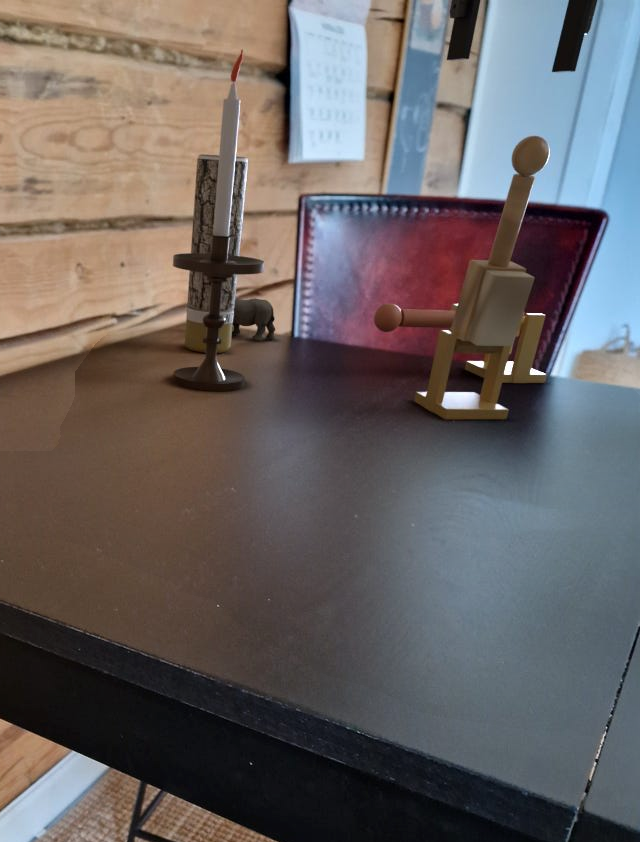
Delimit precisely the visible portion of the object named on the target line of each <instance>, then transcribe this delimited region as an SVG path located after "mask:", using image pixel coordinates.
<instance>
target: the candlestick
mask: <svg viewBox="0 0 640 842" xmlns="http://www.w3.org/2000/svg"><path fill="white" fill-rule="evenodd" d="M243 60H244V49H241V50H240V54H239V56H238V58H237V59H236V61H235V62H234V65H233V67H232V70H231V72H230V81H231V84H230V88H229V92H228V94H227V97H226V98H223V100H222V101H223V103H222V105H223V106H222V115H221V128H220V140H219V141H220V142H219V151H218V155H219V164H218V177H217V190H216V202H215V215H214V227H213V233H204V234H206V235H209V236H212V242H211V254H206V253H191V252H187V253H186V252H185V253H176V254H173V256H172V267H174V268H176V269H179V270H185V271H189V272H190V271H196V272H201V274H202V275H204V276H205V277H206V280H208V281H210V282H211V293H210V306H209V314H207V315H205V316H204V317H203V319H202V321H203V324H204V326H205V327H207V333H206V338H203V339H202V342H203V343H206V353H204V354H205V357H204V359H203V360H202V362H201V363H200V364H199V366H188V367H180V368H177V369H175V370H174V371H173V374H172V375H173V376H172V381H173V383H175V384H176V385H178V386H180V387H184V388H188V389H192V390H198V391H206V392H207V391H208V392H227V391H228V392H229V391H230V392H231V391H236V390H240V389H242V388H244V386H245V379H246V377H245V375H244V374H243V373H240V372H237V371H235V370H231V369H226V368H221V367H220V364H219V362H218V360H217V353H216V352H217V344H221V343H222V340H221V339H218V338H219V328H222V327H223V325H224V323H225V318H224V317H223V316H222V315H220V305H221V293H222V283H224V282H227V281H228V278H231V277H234V276H235V274H236V275H237V276H239V275H245V276H246V275H259V274H262V273H264V270H265V261H264V260H262V259H259V258H254V257H249V256H242V255H239V256H234V255H228V249H229V238H230V237H236V236H237V235H232V234H229V227H230V216H231V205H232V193H233V182H234V170H235V159H236V157H237V148H238V147H237V146H238V135H239V124H240V112H241V102H242V101H241V99H238V94H237V85H236V83H235V82H237V80H238V76H239V73H240V71H241V65H242V63H243Z"/></svg>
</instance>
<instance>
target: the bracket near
mask: <svg viewBox="0 0 640 842" xmlns="http://www.w3.org/2000/svg"><path fill="white" fill-rule="evenodd" d="M456 339H457V334H456V333H453V332H451V331H450V330H449V329H440V330H439V332H438V338H437V342H436V347H435V351H434V356H433V362H432V367H431V371H430V375H429V380H428V384H427V390H426V391H415V394H414V395H415V396H414V398H413V399H414V400H413V402H414V403H416V404H418V405H419V406H421V407H423V408H424V409H425V410H427V411H428V412H431V413H433V414H435V415H437V416H439V417H440V418H442V419H443V420H507V418H508V414H509V408H507V407H505V406H503V405H501V404H499V403H498V400H499V396H500V393H501V389H502V384H503V383H502V381H503V377H504V373H505V369H506V365H507V362H509V356H510V354H509V353H510V349H511V346H498V349H497V351H496V352H495V353H493V354H490V357H489V361H488V365H487V369H486V373H485V378H483V382H482V386H481V391H480V394H479V393H477V392H475V391H446V388H447V383H448V380H449V375H450V370H451V366H452V361H453V356H454V353H453V352H454V348H455V343H456Z"/></svg>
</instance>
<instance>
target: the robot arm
mask: <svg viewBox="0 0 640 842" xmlns="http://www.w3.org/2000/svg"><path fill="white" fill-rule="evenodd" d="M597 4H598V0H568V2H567V6H566V10H565V14H564V18H563V22H562V27H561V31H560V34H559V39H558V44H557V48H556V51H555V56H554V60H553V65H552V69H551V73H555V74H556V73H557V74H560V73H572V72H573V73H574V72H576V71H577V66H578V62H579V59H580V54H581V50H582V46H583V41H584V38H585V35H588V34H589V32H590V31H591V29H592V28H591V27H592V23H593V19H594V16H595V12H596V7H597ZM480 5H481V0H451V3H450V8H449V18H450V19H453V24H452V29H451V33H450V39H449V44H448V50H447V54H446V61H462V60H469V59H470V57H471V50H472V45H473V40H474V36H475V30H476V25H477V20H478V15H479V9H480Z"/></svg>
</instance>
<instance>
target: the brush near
mask: <svg viewBox="0 0 640 842" xmlns="http://www.w3.org/2000/svg"><path fill="white" fill-rule="evenodd" d="M549 158H550V146H549V144H548V142H547V141H546V139H545V138H543V137H542V136H539V135H531V136H526V137H524V138H523V139H521V140H520V141H519V142H518V143H517V144H516V145H515V147H514V148H513V151H512V153H511V165H512V168H513V170H514V172H516V173H514V174H512V179H511V182H510V184H509V185H510V186H509V189H508V192H507V196H506V199H505V203H504V206H503V210H502V212H501V216H500V220H499V223H498V226H497V230H496V234H495V236H494V240H493V244H492V248H491V251H490V254H489V258H488V259H487V260H486V259H470V260H469V263H468V267H467V270H466V274H465V278H464V281H463V284H462V288H461V291H460V295H459V299H458V302H457V304H458V306H457V309H456V313H455V316H454V320H453V323H452V327H451V332H453V333H456V334H457V339H456V343H455V348H454V352H453V354H471V353H489V354H493V353H495V352H496V351H497V349H498V346H513V347H514V344H515V339H516V334H517V331H518V328H519V325H520V322H521V319H522V316H523V313H524V312H525V309H526V306H527V303H528V300H529V297H530V294H531V291H532V287H533V284H534V281H535V279H536V278H535V276H533V275H531V274H529V273H527V268H526V267H524V266H522V265H520V264H518V263H515V262H513V261H511V258H512V256H513V252H514V249H515V245H516V243H517V239H518V236H519V233H520V229H521V226H522V223H523V219H524V217H525V213H526V211H527V210H526V209H527V206H528V204H529V199H530V197H531V192H532V190H533V186H534V183H535V180H536V176H534V175H536V174H539V172H541V171H542V170H543V169H544V167H546V165H547V163H548V161H549ZM524 314H525V313H524ZM513 343H514V344H513Z"/></svg>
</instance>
